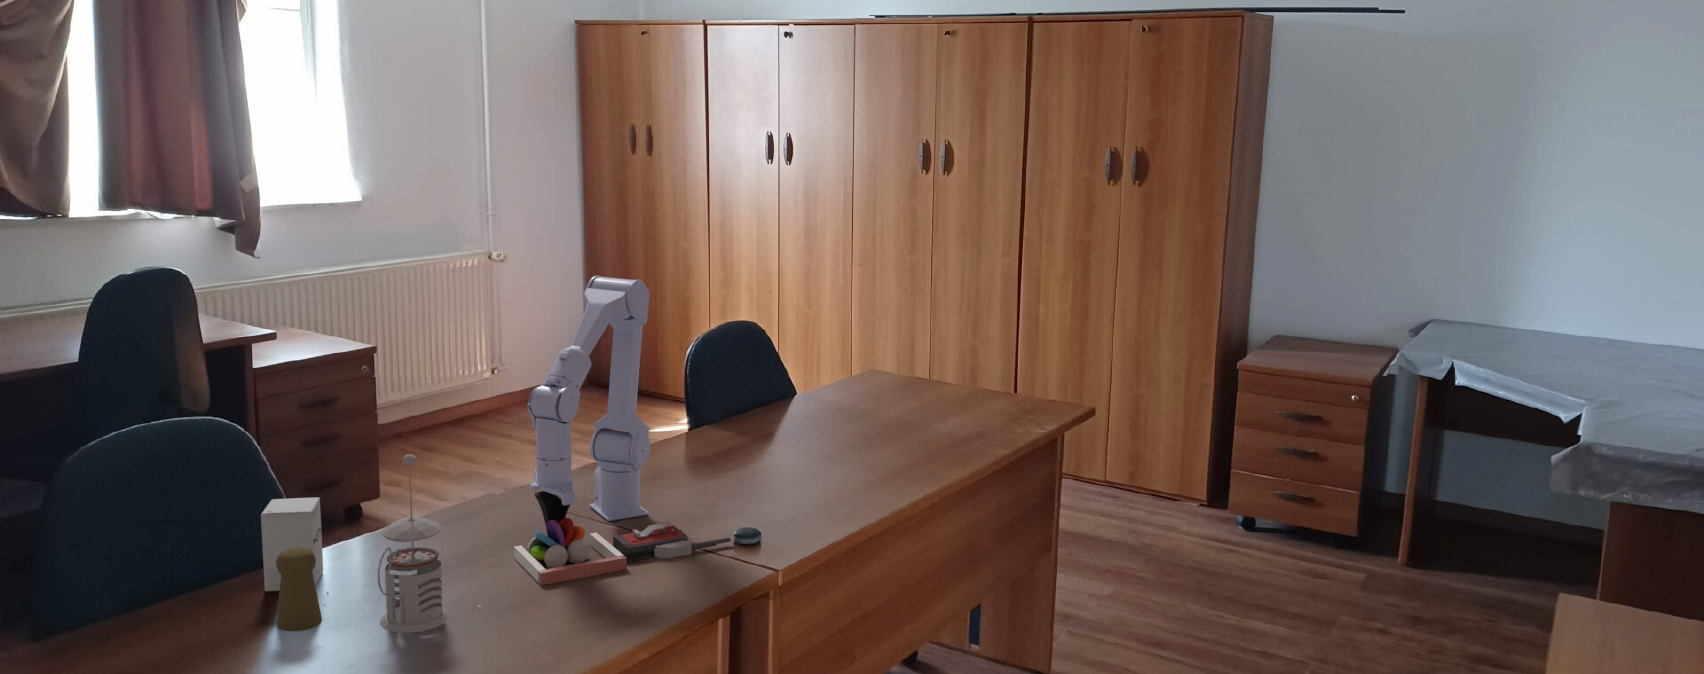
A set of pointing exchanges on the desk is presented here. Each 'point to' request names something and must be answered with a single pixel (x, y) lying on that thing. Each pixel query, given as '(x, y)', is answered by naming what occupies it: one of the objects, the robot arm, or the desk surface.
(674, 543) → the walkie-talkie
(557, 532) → the colorful petals pebble cluster
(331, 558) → the desk surface
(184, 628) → the desk surface
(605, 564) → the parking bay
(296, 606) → the cork
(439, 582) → the french press
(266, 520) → the supplement box
